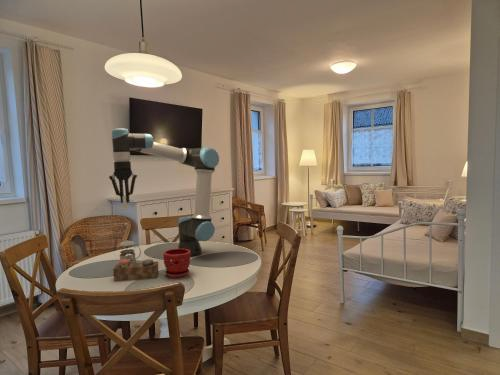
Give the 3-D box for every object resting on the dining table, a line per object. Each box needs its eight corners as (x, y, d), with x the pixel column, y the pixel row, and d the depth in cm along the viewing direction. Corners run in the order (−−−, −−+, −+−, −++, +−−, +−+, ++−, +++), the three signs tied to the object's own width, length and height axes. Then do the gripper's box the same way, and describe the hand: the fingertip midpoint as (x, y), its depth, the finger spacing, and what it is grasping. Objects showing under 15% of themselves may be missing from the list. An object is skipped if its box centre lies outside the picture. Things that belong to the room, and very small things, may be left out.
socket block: (158, 272, 163) (158, 261, 163) (157, 277, 157) (156, 265, 156) (117, 276, 160) (116, 264, 160) (114, 281, 153) (113, 269, 153)
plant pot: (185, 279, 153) (184, 255, 152) (160, 278, 155) (158, 254, 154) (195, 270, 165) (194, 247, 164) (171, 269, 168) (170, 247, 167)
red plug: (131, 272, 160) (130, 258, 160) (129, 276, 155) (128, 261, 155) (120, 273, 159) (120, 259, 159) (118, 276, 154) (117, 262, 154)
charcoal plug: (154, 272, 162) (153, 259, 162) (153, 276, 157) (152, 262, 156) (143, 273, 161) (143, 259, 161) (142, 277, 156) (141, 263, 156)
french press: (118, 267, 174) (115, 222, 172) (140, 264, 178) (138, 220, 176) (118, 273, 165) (115, 225, 163) (142, 269, 169) (139, 223, 167)
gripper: (105, 161, 150) (109, 211, 152) (134, 160, 152) (138, 209, 154) (109, 161, 157) (113, 209, 159) (137, 160, 159) (140, 207, 161)
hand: (125, 209), depth 156 cm, fingers closed
